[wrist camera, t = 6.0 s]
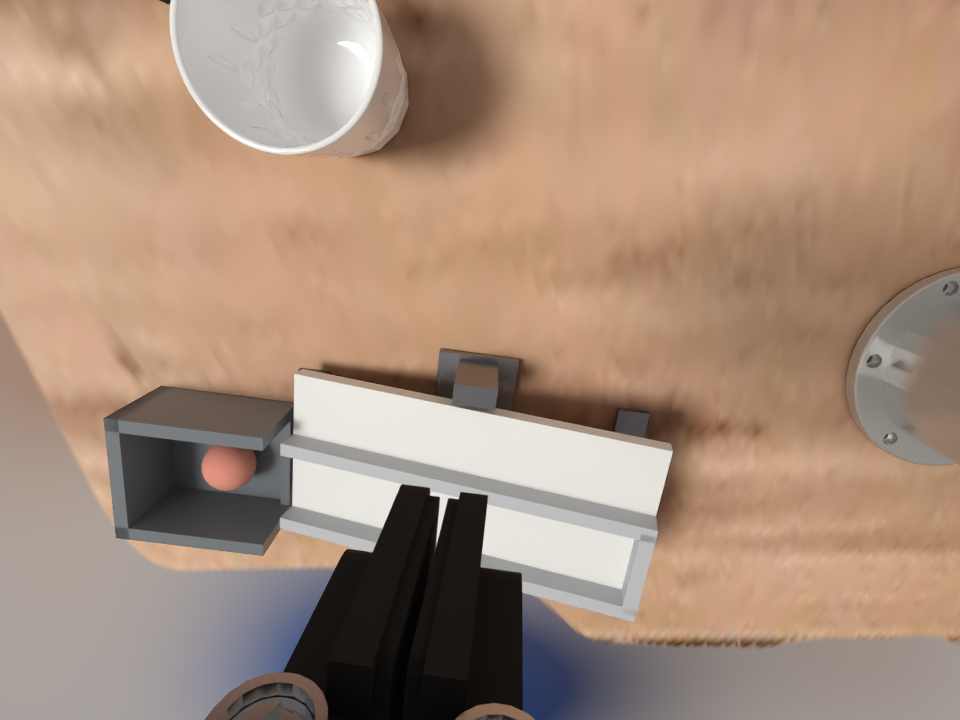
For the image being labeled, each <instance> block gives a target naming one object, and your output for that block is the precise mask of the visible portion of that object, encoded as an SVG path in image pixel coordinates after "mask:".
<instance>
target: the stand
mask: <svg viewBox="0 0 960 720" xmlns="http://www.w3.org/2000/svg"><path fill="white" fill-rule="evenodd" d="M518 366H519V359H518V358H510V357H502V356H494V355H486V354H478V353H471V352H463V351H455V350H447V349H440V352H439V362H438V371H437V381H436V391H435V396H439V397H444V398H449V399H452V404H453V405H461V406H469V407H477V408H485V409H493V410H495V409H496V408H498V409H503V410H508V411H512V405H513V398H514V392H515V385H516V379H517V372H518ZM301 370H303V368H300V369H299V370H298V372H299V371H301ZM306 370H310V371H315V372H320V373H325V374H330V375H331V372H327V371H319V370H311V369H306ZM649 416H650V413H649V412H643V411H635V410H627V409H619V408H618V412H617V416H616V421H615V425H614V430H613V432H616V433H621V434H626V435H631V436H636V437H641V438H644V436H645V432H646V428H647V424H648V420H649Z"/></svg>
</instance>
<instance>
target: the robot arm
mask: <svg viewBox="0 0 960 720" xmlns="http://www.w3.org/2000/svg"><path fill="white" fill-rule="evenodd" d="M846 398H847V402H848V406H849V411H850V413H851V415H852V417H853V419H854V421H855V423H856V425H857V427H858V428H859V429H860V430H861V432H862V433H863V434H864V435H865V436H866V437H867V439H869V440H870V441H871V442H873V443H874V444H876V445H877V446H878V447H880V448H881V449H883V450H884V451H886V452H888V453H890V454H891V455H893V456H895V457H897V458H899V459H902V460H905V461H908V462H911V463H915V464H923V465H931V466H936V465H953V464H959V465H960V267H959V268H955V269H951V270H947V271H942V272H939V273H937V274H935V275H932V276H930V277H927V278H925V279H923V280H920V281H919V282H917V283H915V284H914V285H912V286H910V287H909V288H907V289H905V290H904V291H902V292H900V293H899V294H898V295H897V296H896V297H895V298H893V299H892V300H891V301H890V302H889V303H887V304H886V305H885V306H884V307H883V308H882V309H881V310H880V311H879V312H878V313H877V315H876V316H875V317H874V318H873V319H872V320H871V321H870V322H869V324H868V325H867V327H866V328H865V330H864V332H863V333H862V335H861V336H860V338H859V340H858V341H857V343H856V346H855V348H854V351H853V353H852V356H851V358H850V361H849V366H848V371H847V376H846ZM487 503H488V495H482V494H474V493H467V492H460V496H459V499H453V498H448V501H447V505H446V509H445V513H444V517H443V521H442V525H441V530H440V534H439V538H438V542H437V546H436V539H437V528H438V516H439V505H440V497H438V496H430V488H428V487H421V486H413V485H405V484H402V485H401V486H400V488H399V490H398V493H397V495H396V498H395V500H394V502H393V505H392V507H391V509H390V512H389V514H388V517H387V519H386V521H385V524H384V526H383V528H382V531H381V533H380V536H379V538H378V540H377V543H376V545H375V547H374V550H373V552H366V551H358V550H351V549H347V550H346V551H345V552H344V553H343V555H342V557H341V558H340V560H339V562H338V564H337V566H336V568H335V570H334V572H333V574H332V576H331V579H330V581H329V582H328V584H327V586H326V588H325V590H324V592H323V594H322V596H321V598H320V600H319V602H318V604H317V606H316V608H315V610H314V612H313V614H312V616H311V618H310V620H309V622H308V624H307V626H306V628H305V630H304V632H303V634H302V636H301V638H300V640H299V642H298V644H297V646H296V648H295V650H294V652H293V654H292V656H291V658H290V660H289V662H288V664H287V666H286V668H285V670H284V672H278V673H271V674H264V675H261V676H259V677H256V678H253V679H251V680H248V681H246V682H244V683H243V684H241V685H240V686H238V687H237V688H235V689H233V690H232V691H231V692H229V693H228V694H227V695H226V696H225V697H224V698H223V699H222V700H221V701H220V702H219V703H218V704H217V705H216V706H215V707H214V708H213V710H212V711H211V712H210V714H209V715H208V716H207V717H206V719H205V720H535V719H533V718H532V717H531V716H530V715H529V714H527V713H526V712H523V699H522V697H523V696H522V695H523V683H522V682H523V681H522V574H521V573H519V572H512V571H505V570H498V569H490V568H483V567H480V566H481V557H482V548H483V539H484V530H485V521H486V512H487Z"/></svg>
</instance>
